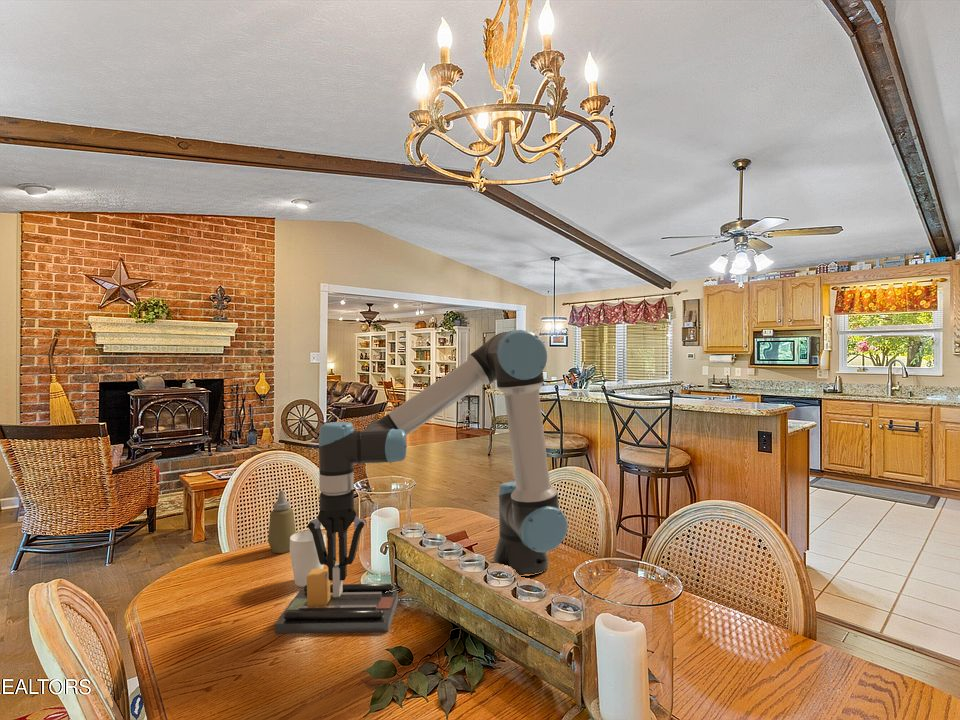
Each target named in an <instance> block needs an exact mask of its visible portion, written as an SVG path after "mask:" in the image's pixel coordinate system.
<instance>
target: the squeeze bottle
mask: <svg viewBox="0 0 960 720" xmlns="http://www.w3.org/2000/svg"><path fill="white" fill-rule="evenodd" d="M295 522H296V521H295V515H294V509H292V508H291V501H289V500H287V498H286V494H285V492H284V490H279V491H278V497H277V501H276V502H274V503H273V510H272V511H270V513H269V525H268V526H269V527H268V537H267V543H268V545H269V548H270V550H271V552H272V553H274V554H285V553H290V537H291V536H292V535H293V534H295V533H297V529H296V523H295Z"/></svg>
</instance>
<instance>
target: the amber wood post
mask: <svg viewBox="0 0 960 720" xmlns="http://www.w3.org/2000/svg"><path fill="white" fill-rule="evenodd" d="M330 584H331V581H329V579H328V568H323V569H312V571H311V572H310V573H309V574H308V576H307V606H326V605H327V604H328V602H329V600H330Z"/></svg>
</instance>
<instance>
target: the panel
mask: <svg viewBox="0 0 960 720" xmlns="http://www.w3.org/2000/svg"><path fill="white" fill-rule="evenodd" d="M394 587H395V586H394V584H393V583H349V584H348V583H345V584H344V583H343V591H342V593H341V595H340V597H333V583H330V600H329V602H328V604H327V605H326V606H307V585H305V586H304V587H300V589H299V591H298V593H296V595H295V596H294V598H293V599H292V601H291V602H290V603H289V604H288V606H287V607H285V608H286V609H285V610H283V612H282V614H281V615H280V616H279V618H278V619H277V621H276V622H275V623H274V634H318V633H319V634H321V633H323V634H324V633H325V634H326V633H327V634H329V633H331V634H332V633H338V634H339V633H387V632H390V631H389V630H390V627H391V624H392V621H393V618H394V615H395V612H396V609H397V605H398V602H399V600H398V592H399V591H393V592H389V593H385V592H386V591H389V590H393V588H394Z"/></svg>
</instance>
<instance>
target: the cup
mask: <svg viewBox="0 0 960 720" xmlns="http://www.w3.org/2000/svg"><path fill="white" fill-rule="evenodd" d="M321 531H322V535H323V539H324V543H325V547H326V548H327V535H326V532H325V531H324V530H321ZM289 554H290V560H291V568H292V573H293V579H294V584H295V586H298V587H300V588H304V586H305V585H307V576H308V574H309V573H310V572H311V571H312V569H324V566H325V565H324V564H323V565H321V564H320V562H319V558H318V554H317V550H316V546H315V542H314V539H313V535H312V532H311V531H310V530H309V529H305V530H301V531H298V532H297V531H296V533H295V534H293V535H292V536H291V537H290V551H289Z"/></svg>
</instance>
